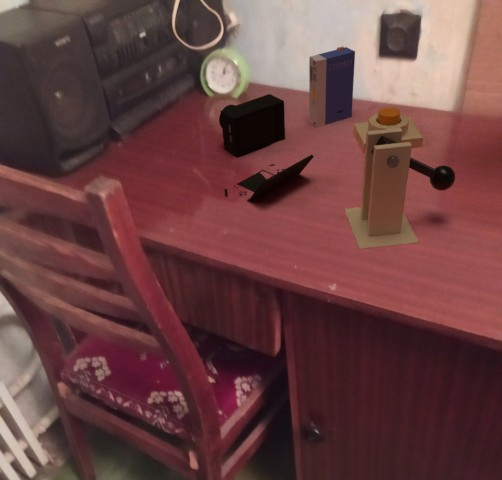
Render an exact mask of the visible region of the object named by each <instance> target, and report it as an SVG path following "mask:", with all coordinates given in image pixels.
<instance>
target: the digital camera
mask: <svg viewBox="0 0 502 480" xmlns="http://www.w3.org/2000/svg"><path fill="white" fill-rule="evenodd" d="M219 112H220V114H219V116H218V117H219V118H218V123H219V126H220V128H221V131H222V139H223V148H224V150H225V151H227V152H228V153H229V154H231V155H233V156H234V157H236V158H239V157H243V156H244V155H247V154H250V153H252V152H255V151H257V150H260V149H263V148H266V147H267V146H271V145H273V144H276V143H278V142H281V141H284V140H285V139H286V126H285V125H286V124H285V123H286V122H285V119H286V118H285V117H286V116H285V101H284V100H283V99H281V98H279V97H277V96H275V95H273V94H272V93H267V94H265V95H262V96H259V97H256V98H253V99H251V100H248V101H244V102H242V103H238V104H236V105H235V104H227V105H226V106H225V107H223V108H222V110H220V111H219Z"/></svg>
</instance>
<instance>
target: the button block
mask: <svg viewBox="0 0 502 480" xmlns="http://www.w3.org/2000/svg"><path fill="white" fill-rule="evenodd" d="M378 113H379V112H378ZM378 113H374V114H372V115H371V116H370V117H369V119H368V121H363V122H355V123H353V134H354V136H355V139H356V141H357V142H358V145H359V147H360V149H361V151H362V153H363V154H365V146H366V132H367V131H374V130H384V129H393V128H401V129H402V131H403V134H402V142H401V143H404V142H410V143H411V145H412V148H414V149H415V148H421V147H423V142H424V136H423V135H422V133H421V132H420V130H419V128H418V127H417V126H416V124H415V123H414V121H413V120H412V118H411V117H407V116H406V115H405V114H402V113H400V121H399V124H396V125H391V126H387V125H381V124H379V123H378Z"/></svg>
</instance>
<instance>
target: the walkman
mask: <svg viewBox="0 0 502 480" xmlns="http://www.w3.org/2000/svg"><path fill="white" fill-rule="evenodd" d="M308 60H309V61H308V62H309V64H308V65H309V68H308V69H309V70H308V71H309V73H308V74H309V75H308V76H309V79H308V81H309V82H308V83H309V88H308V89H309V90H308V91H309V92H308V95H309V96H308V97H309V99H308V100H309V101H308V102H309V103H308V104H309V105H308V109H309V111H308V112H309V113H308V115H309V116H308V118H309V119H308V121H309V124H311V126H313V127H314V128H319V127H322V126H325V125H330V124H333V123H336V122H339V121H343V120H346V119H349V118H352V116H353V97H354V82H355V81H354V80H355V61H356V51H355V50H353V49H351V48H349V47H347V46H344V45H343V46H339V47H338V46H337V47H336V49H333V50H329V51H325V52H322V53H318V54H315V55H312V56H309V59H308Z"/></svg>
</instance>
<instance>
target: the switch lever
mask: <svg viewBox="0 0 502 480" xmlns="http://www.w3.org/2000/svg"><path fill="white" fill-rule="evenodd" d="M394 143H396V142H394V141H392V140H390V139H388V138H386V137H384V136H381V137H380V139H379V140H378V142H377V143H376V145H385V144H394ZM376 145H375V146H376ZM371 152H372V154H373V153H374V148H373V150H372V151H371ZM409 169H410V170H413V171H415V172H417V173H419V174H421V175H423V176H426V177H427V178H429V183H430V185H431V187H432V188H433V189H435V190H437V191H446V190H449V189H450V188H451V187H452V186H454V184H455V181H456V172H455V171H454V169H453V168H452V167H451V166H449V165H446V164H445V165H438V166H436V167H435V168H434V167H432V166H430V165H428V164H425V163H424V162H422V161H420V160H418V159H415V158H413V157H412V156H410V164H409Z"/></svg>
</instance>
